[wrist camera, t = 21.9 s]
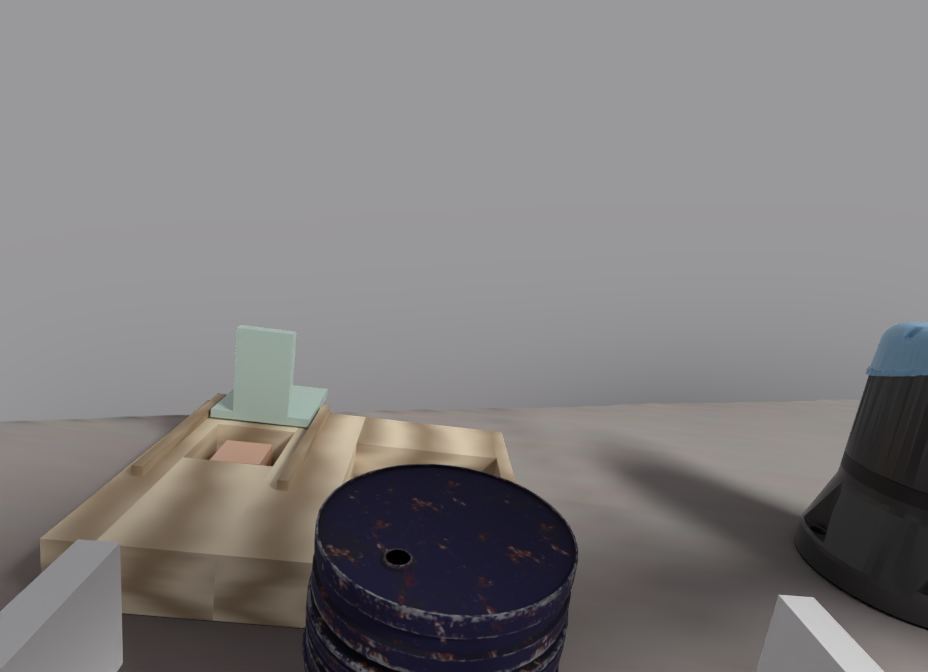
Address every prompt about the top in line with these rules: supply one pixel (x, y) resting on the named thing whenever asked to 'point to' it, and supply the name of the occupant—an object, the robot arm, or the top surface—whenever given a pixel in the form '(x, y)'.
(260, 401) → the cover
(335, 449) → the puzzle board
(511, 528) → the dark blue barrel
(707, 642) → the top surface
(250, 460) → the block
